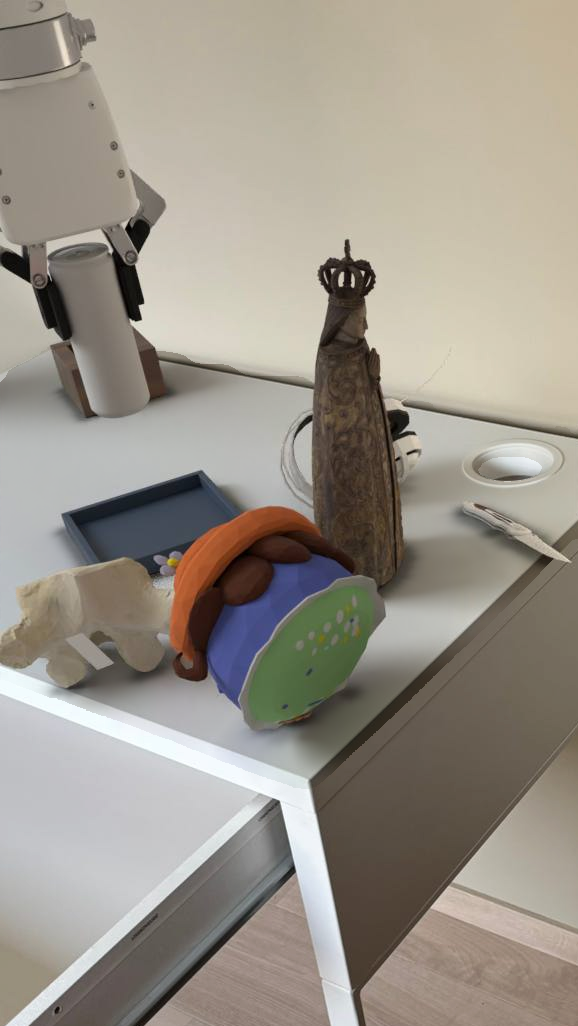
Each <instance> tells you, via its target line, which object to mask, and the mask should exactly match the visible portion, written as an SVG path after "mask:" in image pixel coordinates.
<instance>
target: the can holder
mask: <svg viewBox="0 0 578 1026" xmlns="http://www.w3.org/2000/svg"><path fill="white" fill-rule="evenodd" d="M131 326H132V330H133V334H134V338H135V341H136V345H137V349H138V353H139V356H140V360H141V364H142V367H143V371H144V375H145V379H146V382H147V386H148V390H149V394H150V398H149V400H151V399H154V398H158V397H161V396H165V395H167V394H168V391H167V388H166V384H165V380H164V377H163V373H162V369H161V365H160V361H159V357H158V354H157V349H156V347H155V346H154V345H153V344H152V343H151V342H150V341H149V340H148V339H147V338H146V337H145V336H144V335H143V334H141V332H139V330H137V329H136V328H135V327H134V326H133V324H131ZM49 348H50V352H51V354H52V357H53V361H54V363H55V367H56V369H57V373H58V376H59V379H60V382H61V386H62V389H63V391H64V393H66V395H67V396H68V397H69V399H70V400H71V401H72V402H73V404H74V405H75V406H76V408H77V409H78V410H79V411H80V412H81V414H82V415H83V417H85V418H89V417H93V416H96V415H97V414H96V413H95V412H94V411H92V409H91V406H90V403H89V400H88V397H87V393H86V390H85V387H84V383H83V380H82V377H81V374H80V370H79V367H78V364H77V360H76V357H75V354H74V351H73V347H72V344H71V341H70V340H67V341H61V342H57V343H52V344H50V345H49Z"/></svg>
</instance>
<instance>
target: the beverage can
mask: <svg viewBox="0 0 578 1026" xmlns="http://www.w3.org/2000/svg"><path fill="white" fill-rule="evenodd" d="M109 250H110V248H109V246H108V244H107V243H106V244H105V243H102V242H93V241H92V242H90V241H89V242H81V243H79V242H78V243H74V244H69V245H66V246H62V247H59V248H58V249H55V250H53V251H51V252H50V253H48V254H47V263H48V265H47V271H48V274H49V276H50V279H51V281H52V282H53V283H54V284H55V285H56V286H57V288H58V291H59V294H60V297H61V301H62V304H63V307H64V311H65V314H66V317H67V321H68V324H69V327H70V331H71V334H72V337H70V341H71V344H72V347H73V351H74V354H75V357H76V360H77V364H78V367H79V370H80V374H81V377H82V380H83V383H84V387H85V390H86V393H87V397H88V400H89V403H90V406H91V409H92V411H94V412H95V413H96V415H98V416H99V417H101V418H104V419H120V418H121V419H122V418H127V417H129V416H132V415H136V414H137V413H139V412H141V411H143V410H144V409H145V408H146V407H147V406H148V404H149V401H150V399H149V398H150V394H149V390H148V386H147V382H146V379H145V375H144V371H143V367H142V364H141V360H140V356H139V353H138V349H137V345H136V341H135V338H134V334H133V330H132V326H133V325H132V323H131V319H130V318H129V315H128V312H127V308H126V304H125V300H124V297H123V293H122V289H121V285H120V282H119V278H118V274H117V271H116V267H115V263H114V259H113V257H112V252H110V251H109ZM131 325H132V326H131Z"/></svg>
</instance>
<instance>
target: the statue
mask: <svg viewBox="0 0 578 1026" xmlns="http://www.w3.org/2000/svg"><path fill="white" fill-rule="evenodd" d="M351 251H352V248H351V243H350V239H349V238H346V239H344V246H343V253H344V257H342V258H341V259H339V258H336V257H331V256H329V257H328V259H326V260H325V262H324V264H320V265H319V269H317V275H316V276H317V278H318V279H317V280H318V281H319V283H320V286H323V289H324V291H325V292H326V293H327V294H328V296H327V297H328V299H327V302H328V303H327V308H326V313H325V318H324V324H323V328H322V331H321V333H320V337H319V343H318V347H317V351H316V357H315V363H314V364H315V365H314V383H313V395H312V408H313V410H312V413H313V421H311V482H312V484H311V486H312V487H313V501H312V504H313V505H312V506H314V509H313V518H314V519H313V520H314V525H315V526H316V527H317V528H318V529H319V531H320V533H321V535H322V537H323V538H324V539H326V540H328V541H329V542H330V543H331V544H332V545H333V546H334V547H335V548H337V549H340V550H342V551H344V552H345V553H346V554H348V555H349V556H350V557H351V558H352V559H353V561H354V563H355V565H356V568H355V572H354V573H353V574H352V575H353V576H356V575H362V576H365V577H368V578H372V579H374V581H375V582H376V584H377V589H378V588H379V587H381V586H383V585H385V584H386V583H387V582H389V580H391V579H392V578H393V577H394V575H395V574H396V573H398V570H399V569H400V567H401V563H402V560H403V559H404V558H405V553H406V549H405V540H404V527H403V515H402V512H403V511H402V501H401V499H402V498H401V490H400V484H399V483H398V473H397V465H396V461H395V451H394V447H393V440H392V436H391V432H390V424H389V420H388V417H387V410H386V407H385V402H384V399H385V398H384V394H383V390H382V385H381V381H382V376H381V375H380V374H381V356H380V354H379V353H378V352H377V349H376V347H371V348H370V345H369V344H368V341H367V338H366V336H365V334H366V331H367V330H369V324H368V321H367V320H368V319H367V312H368V311H367V310H368V309H367V304H366V297H367V296H368V295H369V293H371V291H372V290H374V289H375V284H377V280H376V278H377V275H376V273H375V270H374V269H373V268H372V266H371V262H370V261H367V260H366V259H363V258H360V259H356V260H354V259H353V258H352V256H351ZM332 270H333V271H332ZM362 272H364V273H362ZM342 273H343V281H342V285H341V286H340V285H339V279H340V275H341V274H342ZM352 276H353V278H354V286H352V283H353V281H352Z"/></svg>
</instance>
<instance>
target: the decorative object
mask: <svg viewBox="0 0 578 1026" xmlns="http://www.w3.org/2000/svg"><path fill="white" fill-rule="evenodd" d="M152 581H153V580H152V578H151V575H149V574H148V572H147V569H146V568H145V567H144V566H142V565H141V564H140V563H138V562H136V561H134V560H133V559H131V558H127V557H123V558H120V559H116V560H113V561H109V562H104V563H99V564H94V565H83V566H77V567H76V566H75V567H70V568H67V569H63V570H61V571H57V572H55V573H53V574H51V575H49V576H46V577H43V578H40V579H37V580H35V581H32V582H30V583H28V584H23V585H19V586H18V587H16V588H14V591H15V600H16V603H17V605H18V606H19V608H20V609H21V618H20V619H19V621H17V622H16V623H14V625H12V626H10V627H8V628H7V629H5V630H4V631H1V633H0V664H1V665H2V666H5V667H8V668H12V669H14V670H15V669H19V670H23V669H26V668H28V667H29V666H32V665H33V664H34V663H35V661H37V660H38V659H46V660H48V662H47V664H46V665H45V673H46V674H47V675H46V676H48V678H50V679H51V680H52V682H54V683H55V684H56V685H57V686H58V687H61V688H65V689H68V688H69V687H70V686H73V685H76V684H77V683H78V682H79V681H81V680H83V679H84V678H85V677H86V675H87V673H88V664H89V661H87V660H86V659H85V658H84V657H83V656H82V655H81V654H80V653H79V652H78V651H77V650H76V649H75V648H74V647H73V646H72V645H71V644H69V643H68V642H67V641H66V640H65V639H67V638H69V637H72V636H75V635H77V634H80V633H83V634H84V635H85V636H86V637H87V638H88V639H89V640H90V641H91V642H92V643H93V644H95V645H96V646H97V647H99V646H100V645H102V644H105V643H115V645H116V646H115V647H116V649H117V652H118V655H120V656H121V658H122V659H123V660H124V661H125V663H126V664H127V665H129V666H130V667H132V668H133V669H135V670H137V671H138V672H140V673H142V672H143V673H147V672H150V671H153V670H155V669H156V667H157V666H158V665H159V664H160V663H161V661H162V660H163V657H164V655H165V651H166V650H165V649H164V647H163V645H162V643H161V641H160V640H159V639H158V635H159V634H162V635H167V636H168V637H170V617H171V611H172V606H173V600H174V594H175V592H174V588H156V587H155V586H154V585H153V582H152Z"/></svg>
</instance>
